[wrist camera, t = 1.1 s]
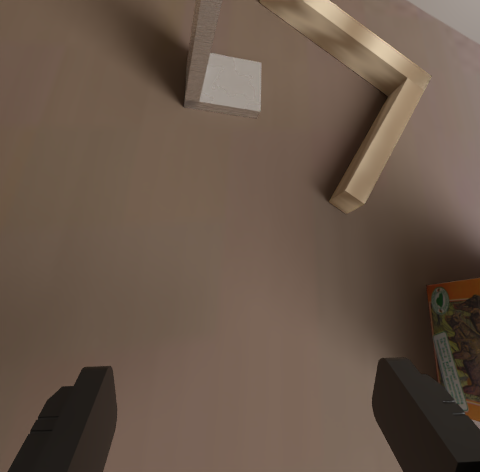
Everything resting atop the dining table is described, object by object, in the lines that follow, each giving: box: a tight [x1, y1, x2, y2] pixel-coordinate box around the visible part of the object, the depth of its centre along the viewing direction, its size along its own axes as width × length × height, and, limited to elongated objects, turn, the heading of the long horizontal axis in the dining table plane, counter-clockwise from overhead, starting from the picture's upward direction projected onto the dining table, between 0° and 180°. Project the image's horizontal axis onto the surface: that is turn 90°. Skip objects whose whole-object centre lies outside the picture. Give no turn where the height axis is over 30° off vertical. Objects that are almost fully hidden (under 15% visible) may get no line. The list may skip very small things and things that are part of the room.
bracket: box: [184, 0, 261, 119], centre depth 28 cm, size 7×5×12 cm
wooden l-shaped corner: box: [259, 0, 432, 214], centre depth 34 cm, size 18×16×3 cm
